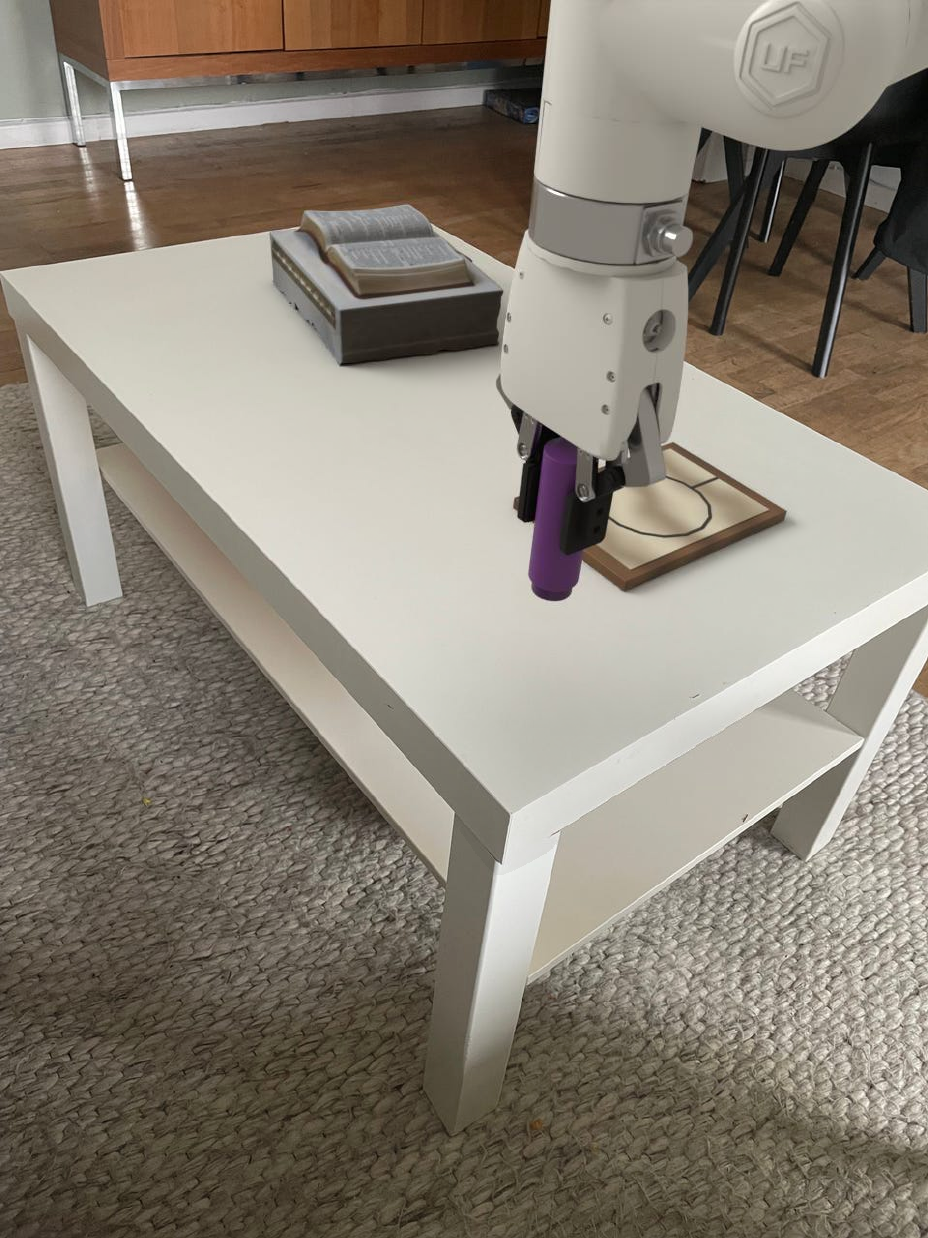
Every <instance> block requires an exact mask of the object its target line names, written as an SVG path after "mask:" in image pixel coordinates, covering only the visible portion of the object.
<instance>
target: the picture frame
mask: <svg viewBox="0 0 928 1238" xmlns="http://www.w3.org/2000/svg"><path fill="white" fill-rule="evenodd" d="M661 446H662V451H663V457H664V462H665V467H666V478H665V479H664V480H663V481H660V482H658V483H655V484H652V485H649V486H647V487H628V488H627V487H624V488H622V489H620V490H618V491H615V492H613V497H612V503H611V508H610V514H609V519H608V525H607V530H606V536H605V538H604V540H603V541H602V542H601V543H599V544H596V545H594V546H591V547H589V548H586V549H584V551H583V557H582V562H584V563H586V564H587V565H588V566H590V567H591V568H592V569H594V570H595V571H596V572H597V573H599V574H600V575H601V576H603V578H605V579H607V580H608V581H609V582H611V583H612V584H614V585H615V586H616V587H617V588H618V589H620V590H621V591H622V592H626V591H628V590H630V589H633V588H635V587H637V586H639V585H641V584H644V583H646V582H648V581H650V580H652V579H655V578H657V577H659V576H661V575H664V574H666V573H668V572H671V571H673V570H675V569H677V568H680V567H682V566H685V565H687V564H689V563H691V562H694V561H696V560H697V559H700V558H702V557H705V556H707V555H709V554H711V553H713V552H716V551H718V550H720V549H723V548H725V547H727V546H729V545H731V544H734V543H736V542H738V541H741V540H742V539H744V538H747V537H750V536H752V535H754V534H757V533H758V532H760V531H761V532H762V531H763V530H766V529H767V528H770V527H771V526H775V525H776V524H778V523H781V522H783V521H785V518H786V515H787V512H788V510H785V508H782V507H781V506H779V505H778V504H777V503H774V502H773V501H772V500H769V499H768V498H767V497H765V496H763V495H762V494H761V493H758V492H756V491H755V490H754V489H752V488H750V487H748V486H746V485H745V484H744V483H741V482H740V481H739V480H737V479H735V478H734V477H732V476H730V475H728V474H727V473H725V472H723V471H722V470H720V469H718V468H717V467H715V466H714V465H712V464H711V463H709V462H707V461H706V460H704V459H702V458H700V457H699V456H698V455H696V454H694V453H692V452H691V451H689V450H688V449H686V448H684V447H683V446H682V445H679V444H678V443H676V442H674V441H671V442H668V443H666V444H662V445H661ZM629 460H630V456H628V459H627V461H629ZM603 470H605V465H604V466H601V467H598V473H599V472H601V471H603ZM518 504H519V495H518V496H516V497H514V498H513V505H512V507H513V508H514V509H515V510H516V511H517V512H518ZM531 522H532V523H533V524H534V523H535V520H534V521H531Z"/></svg>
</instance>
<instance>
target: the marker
mask: <svg viewBox="0 0 928 1238" xmlns="http://www.w3.org/2000/svg"><path fill="white" fill-rule="evenodd" d="M577 450H578V447H577V446H576V445H574V444H573V443H571V442H570V441H568V440H567V439H565V438H563V437H561V438H555V439H552V440H550V441H549V442H547V443H546V444H545V446H544V452H543V460H542V468H541V475H540V483H539V491H538V499H537V507H536V515H535V523H533V533H532V539H531V546H530V547H531V548H530V556H529V561H528V572H527V575H528V578H529V580H530V582H531V584H530V588H531V592H532V593H533V594H534V595H535V596H536V597H537V598H539V599H542V600H544V601H547V602H560V601H564V600H566V599H568V598H569V597H570V596H571V595H572V593H573V588H574V587H576V586H577V585H578V583H579V580H580V576H581V575H580V573H581V568H582V562H583V560H582V557H583V551H584V550H581V551H578V552H576V553H573V554H571V555H566V554H564V553H563V552H562V551H560V547H559V541H560V534H561V528H562V521H563V514H564V507H565V500H566V497H567V495H568V494H570V493H572V492H575V484H576V467H577ZM598 460H599V461H600V459H598Z"/></svg>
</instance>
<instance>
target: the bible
mask: <svg viewBox="0 0 928 1238" xmlns="http://www.w3.org/2000/svg"><path fill="white" fill-rule="evenodd" d="M268 234H269V241H270V256H271V257H270V258H271V266H272V283H273V284H274V285H275V287H276V288H277V289H278V290H279V291H280V292H282V293H283V294H284V295H285V299H286V300H287V303H288V304H291V306H292V307H293V309H295V308H296V307H297V309H298V311H299V313H300V315H301V317H302V318H303V319H304V320H305V321H308V322H309V325H310V326H312V325H314V327H315V329H316V332H317V334H318V335H319V336H320V340H322V342H323V343H324V344H325V347H326V348H327V349H328V351H329V352H330V353H331V355H332V356H333V358H335V360H336V361H337V364H338V366H339V367H340V366H341V364H352V363H354V364H357V363H360V362H365V361H372V360H373V361H374V360H375V361H385V360H389V359H390V358H397V357H398V358H399V357H406V356H409V357H410V356H415V355H434V354H438V353H439V352H438V351H442V350H446V351H460V350H461V351H462V350H465V349H470V348H479V347H483V346H490V345H495V344H498V345H499V344H500V341H499V337H500V331H499V330H498V319H499V316H500V312H501V306H502V297H503V294H504V289H503V288H502V287H501V285H499V284H498V283H497V282H496V281H495V280H493V279H492V278H491V277H490V276H489V275H488V274H486V273H485V272H484V271H483V270H482V269H480V267H479V266H477V265H476V264H475V263H473V261H474V260H472V259H471V258H470V257H468V256H467V255H465V254H464V253H462V252H461V251H460V250H458V249H457V248H456V247H454V246H453V245H452V244H451V243H450V242H449V241H448V240H446V239H445V238H444V237H443V236H441V235H440V234H438V233H437V231H435V230H434V228H433V226H432V223H431V221H430V220H429V219H428V218H427V216H426V215H425V214H424V213H422V212H421V211H419V210H417V209H416V208H415V207H414V206H412V205H410V204H402V205H395V206H389V207H388V206H387V207H382V208H373V209H360V210H359V209H358V210H357V209H355V210H314V209H313V210H312V209H307V210H304V211H303V214H302V218H301V223H300V226H299V228H291V229H284V230H271V231H269V232H268Z"/></svg>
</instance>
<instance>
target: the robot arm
mask: <svg viewBox="0 0 928 1238" xmlns="http://www.w3.org/2000/svg"><path fill="white" fill-rule="evenodd" d="M548 20H549V21H548V27H547V28H548V29H547V39H546V49H545V58H544V66H543V68H544V69H543V79H542V88H541V89H542V90H541V98H540V109H539V117H538V118H539V120H538V129H537V138H536V148H535V158H534V159H535V160H534V167H533V179H532V180H533V181H532V188H531V189H532V190H531V200H530V201H531V202H530V210H529V211H530V212H529V219H528V228H527V229H526V230H525V232H524V235H523V238H522V241H521V244H520V247H519V251H518V255H517V259H516V263H515V268H514V270H513V271H514V272H513V276H512V281H511V285H510V290H509V296H508V302H507V306H506V313H505V320H504V321H505V322H504V328H503V336H502V344H501V357H500V372H499V374H498V376H497V378H496V380H495V386H496V387H495V388H496V390H497V391H498V393H499V395H500V397H501V398H502V399H503V401H504V403H505V404H506V407H507V408H508V409H509V411H510V416H511V420H512V422H513V425H514V427H515V430H516V432H517V434H518V439H517V442H516V443H517V444H516V451H517V455H518V457H519V458H520V459H521V460H522V461H525V462H523V463H522V470H521V478H520V486H519V495H518V496H519V504H518V511H517V512H516V513H517V514H516V516H517V519H518V520H519V521H521V522H522V523H525V524H526V523H531V522H532V521H534V520H535V515H536V507H537V499H538V491H539V483H540V475H541V468H542V460H543V452H544V446H545V444H546V443H547V442H549V441H550V440H552V439H555V438H561V437H563V438H565V439H567V440H568V441H570V442H571V443H573V444H574V445H576V446H577V447H578V450H577V467H576V484H575V492H572V493H570V494H568V495H567V497H566V500H565V507H564V514H563V521H562V528H561V534H560V541H559V547H560V551H562V552H563V553H564V554H566V555H571V554H573V553H576V552H578V551H581V550H584V549H586V548H589V547H591V546H594V545H596V544H599V543H601V542H602V541H603V540H604V538H605V536H606V530H607V525H608V519H609V514H610V508H611V503H612V497H613V492H615V491H618V490H620V489H622V488H624V487H627V488H628V487H647V486H649V485H652V484H655V483H658V482H660V481H663V480H664V479H665V478H666V467H665V462H664V457H663V451H662V446H663V444H665V443H667V442H668V441H669V440H670V437H671V435H672V432H673V428H674V424H675V420H676V415H677V409H678V403H679V398H680V392H681V386H682V379H683V372H684V371H683V370H684V363H685V356H686V347H687V346H686V345H687V336H688V333H687V332H688V321H689V279H688V277H689V276H688V266H687V265H686V264H684V263H683V262H681V261H679V260H677V258H682V257H683V256H685V255H686V254H687V253H688V252H689V250H690V249H691V247H692V245H693V241H694V233H693V230H692V229H690V227H687V226H684V221H685V216H686V210H687V205H688V202H689V201H688V200H689V195H690V189H691V184H692V179H693V175H694V169H695V164H696V158H697V154H698V148H699V143H700V137H701V133H702V129H703V128H704V129H706V130H709V131H712V132H713V133H717V134H718V135H722V136H725V137H727V138H730V139H733V140H735V141H738V142H741V143H745V144H748V145H751V146H755V147H759V148H762V149H767V150H774V151H783V152H784V151H803V150H807V149H812V148H815V147H819V146H821V145H825V144H827V143H829V142H831V141H833V140H835V139H837V138H839V137H840V136H842V135H843V134H846V133H847V132H848V131H849V130H851V129H853V127H855V126H856V125H857V124H858V123H859V122H860V121H861V120H862V119H864V117H865V116H866V115H867V114H868V113H869V112H870V111H871V109H872V108H873V107H874V105H876V103H877V102H878V100H879V99H880V98H881V96H882V94H883V93H884V91H885V90H886V89H887V88H888V87H889V86H892V85H894V84H896V83H897V82H900V81H902V80H903V79H907V78H908V77H910V76H913V75H914V74H917V73H919V72H921V71H923V70H925V69H928V0H550V7H549V18H548ZM629 457H630V460H629V461H627V459H628V458H629ZM598 459H599V460H598ZM600 460H601V461H604V466H605V470H603V471H601V472H599V473H598V468H599V465H600Z"/></svg>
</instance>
